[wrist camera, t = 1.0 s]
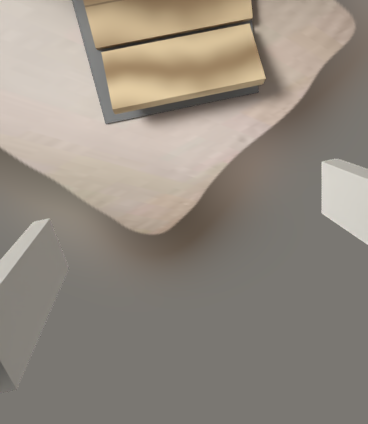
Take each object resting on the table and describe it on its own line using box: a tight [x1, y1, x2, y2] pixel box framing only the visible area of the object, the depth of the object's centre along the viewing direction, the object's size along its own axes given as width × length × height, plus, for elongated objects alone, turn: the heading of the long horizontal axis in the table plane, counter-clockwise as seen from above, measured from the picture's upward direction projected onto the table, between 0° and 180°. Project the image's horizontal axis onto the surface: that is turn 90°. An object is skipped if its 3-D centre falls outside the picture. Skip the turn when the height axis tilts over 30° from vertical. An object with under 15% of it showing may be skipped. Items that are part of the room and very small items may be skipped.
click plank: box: [101, 23, 266, 114], centre depth 34 cm, size 8×17×1 cm, turn 101°
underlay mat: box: [72, 0, 259, 124], centre depth 35 cm, size 17×20×1 cm
